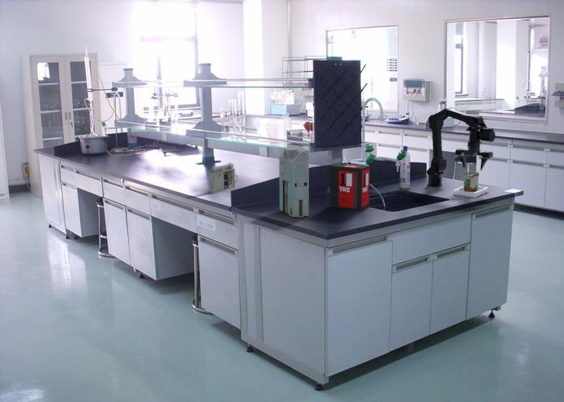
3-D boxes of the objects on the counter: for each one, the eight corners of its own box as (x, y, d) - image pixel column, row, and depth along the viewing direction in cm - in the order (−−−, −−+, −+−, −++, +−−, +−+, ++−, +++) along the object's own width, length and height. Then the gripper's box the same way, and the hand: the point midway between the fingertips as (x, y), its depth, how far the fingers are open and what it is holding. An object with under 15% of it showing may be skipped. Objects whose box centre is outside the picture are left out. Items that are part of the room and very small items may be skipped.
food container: (467, 189, 340) (468, 171, 338) (478, 190, 336) (479, 172, 334) (457, 193, 331) (458, 174, 328) (469, 194, 327) (470, 175, 325)
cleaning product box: (329, 206, 304) (330, 165, 300) (338, 203, 312) (338, 163, 308) (361, 210, 296) (361, 168, 292) (369, 207, 303) (370, 165, 299)
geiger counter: (214, 167, 335) (241, 161, 355) (204, 166, 338) (232, 160, 359) (215, 193, 338) (242, 186, 358) (205, 192, 341) (232, 184, 362)
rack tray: (452, 195, 329) (453, 190, 329) (466, 189, 343) (466, 185, 343) (475, 197, 322) (475, 193, 321) (488, 192, 336) (488, 187, 335)
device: (279, 210, 298) (279, 147, 291) (294, 209, 300) (294, 146, 294) (292, 218, 283) (292, 151, 276) (308, 216, 285) (308, 150, 279)
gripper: (451, 140, 331) (449, 169, 334) (486, 143, 319) (483, 173, 323) (460, 138, 339) (458, 166, 343) (494, 140, 328) (492, 170, 331)
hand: (472, 169), depth 335 cm, fingers open, 9 cm apart
